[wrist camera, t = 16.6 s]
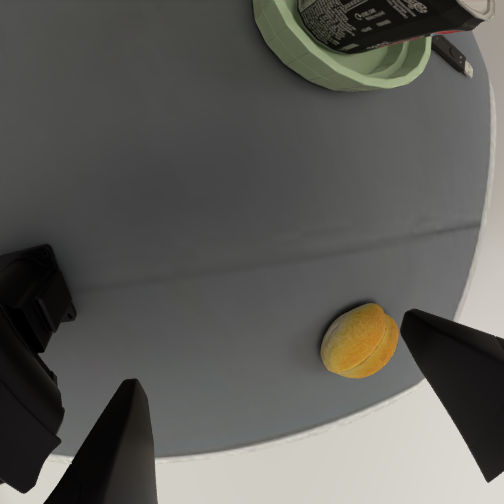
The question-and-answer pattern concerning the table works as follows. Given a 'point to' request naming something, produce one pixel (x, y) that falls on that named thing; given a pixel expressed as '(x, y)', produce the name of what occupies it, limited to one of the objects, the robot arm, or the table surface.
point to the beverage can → (387, 21)
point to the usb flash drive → (451, 54)
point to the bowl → (337, 53)
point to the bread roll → (359, 342)
